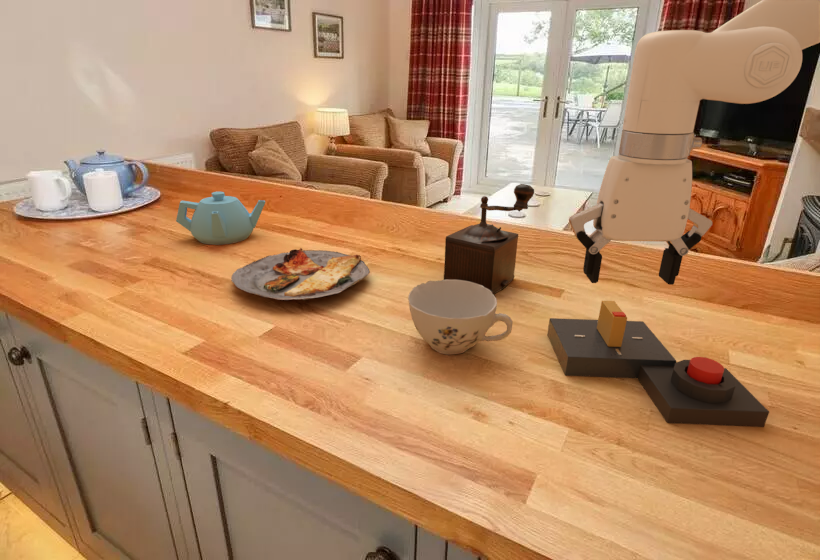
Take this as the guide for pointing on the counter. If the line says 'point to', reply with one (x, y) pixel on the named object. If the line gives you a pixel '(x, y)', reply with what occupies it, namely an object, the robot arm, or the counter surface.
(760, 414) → the button block
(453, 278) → the manual coffee grinder
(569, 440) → the counter surface
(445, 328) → the teacup
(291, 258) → the food plate
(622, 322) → the red-tipped wooden block
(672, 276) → the robot arm
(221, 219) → the teapot
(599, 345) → the panel
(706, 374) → the button
